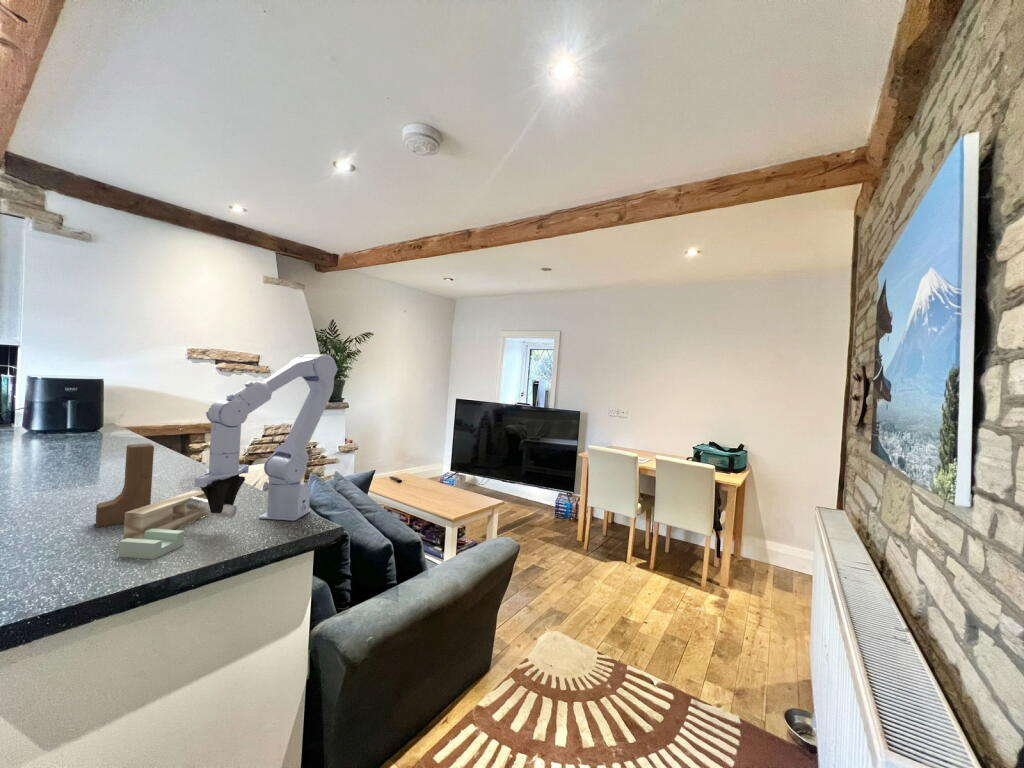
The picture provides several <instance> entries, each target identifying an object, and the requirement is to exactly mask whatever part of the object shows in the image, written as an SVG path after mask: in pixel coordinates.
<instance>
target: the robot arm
mask: <svg viewBox="0 0 1024 768" xmlns="http://www.w3.org/2000/svg"><path fill="white" fill-rule="evenodd" d="M338 371H339V370H338V365H337V363H336V361H335V359H334V358H333V356H332V355H330V354H326V353H323V354H309V353H303V354H301V355H299V356H298V357H295V358H293V359H292V360H291V361H290V362H289V363H287V364H286V365H285V366H283V367H282V368H279V369H278V371H276V372H274V373H273V374H272V375H270V376H269V377H268V378H266V379H265V380H263V381H260V380H259V381H258V380H255V381H247V382H246V383H245V384H244V387H243V388H241V389H239V390H237V391H236V392H234V393H229V394H228V395H226V399H222V400H217V401H215V402H213V403H212V404H211V405H210V407H209V408H208V411H206V412H205V415H206V419H207V420H208V421H209V422H210V423H211V426H210V429H211V430H210V437H209V438H210V441H209V442H210V443H209V459H208V469H209V470H207V469H206V470H204V473H203V474H202V475H199V476H196V477H194V487H195V488H200V490H201V489H202V490H203V492H204V494H205V495H206V497H207V500H208V503H209V507H210V511H211V513H222V510H223V505H224V504H229V505H233V506H234V504H235V501H236V499H237V495H238V493H239V490H240V489H241V487H242V485H243V484H244V482H245V481H246V476H240V475H241V474H242V475H243V474H248V473H249V469H250V468H249V467H250V465H249V464H240V452H241V432H242V424H244V423H245V422H246V420H247V419H248V416H249V414H251V413H252V412H254V411H256V410H257V409H258V408H259V407H261V406H263V405H265V404H266V403H267V402H269V401H270V400H271V399H272V395H273V393H274V392H276V391H277V390H279V389H281V388H282V387H284V386H286V385H288V384H289V383H291V382H292V381H294V380H295V379H297V378H299V377H300V378H302V379H303V380H304V381H305V383H306V384H307V386H308V387H309V392H308V394H307V396H306V399H305V401H304V403H303V405H302V407H301V408H300V410H299V412H298V415H297V416H296V419H295V420H294V423H293V424H292V427H291V428H290V431H289V433H288V435H287V437H286V439H285V441H284V442H283V443H282V444H281V445H279V446H277V447H276V448H275V449H274V451H273V453H272V454H271V455H270V456H268V458H266V460H265V462H264V465H263V471H264V473H265V475H266V476H267V477H268V479H267V480H268V485H267V487H268V489H267V504H266V506H267V507H266V512H265V513H262V514H261V515H258V519H261V520H262V519H264V520H266V519H267V520H277V521H291V522H292V521H296V520H298V519H300V518H301V517H303V516H305V515H306V514H309V513H310V512H311V509H310V499H311V497H310V496H311V487H310V484H309V483H308V482H307V483H306V482H303V481H302V479H303V478H304V477H305V475H306V472H307V470H308V469H307V467H308V466H307V464H308V462H309V459H310V457H309V453H308V451H307V448H308V446H309V443H310V441H311V439H312V437H313V435H314V432H315V431H316V429H317V426H318V424H319V422H320V420H321V418H322V415H323V413H324V411H325V409H326V407H327V405H328V402H329V401H330V399H331V396H332V394H333V392H334V387H335V385H334V384H335V376H336V374H337V372H338Z"/></svg>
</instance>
